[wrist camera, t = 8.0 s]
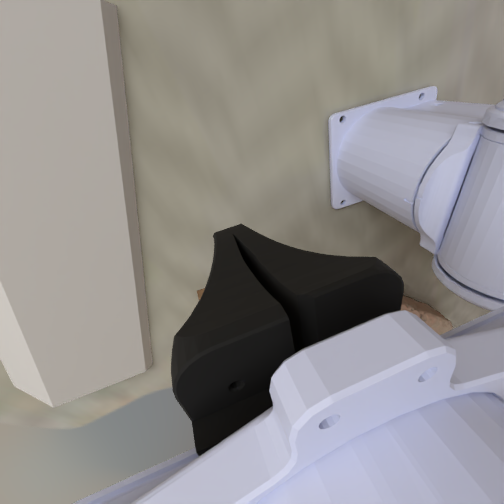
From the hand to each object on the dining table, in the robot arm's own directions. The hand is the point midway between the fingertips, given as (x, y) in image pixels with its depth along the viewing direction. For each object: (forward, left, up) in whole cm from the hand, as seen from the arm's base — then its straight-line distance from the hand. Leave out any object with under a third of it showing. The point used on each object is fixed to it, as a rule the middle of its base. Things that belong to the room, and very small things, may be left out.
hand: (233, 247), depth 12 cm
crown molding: (+12, +2, -11) cm, 16 cm away
